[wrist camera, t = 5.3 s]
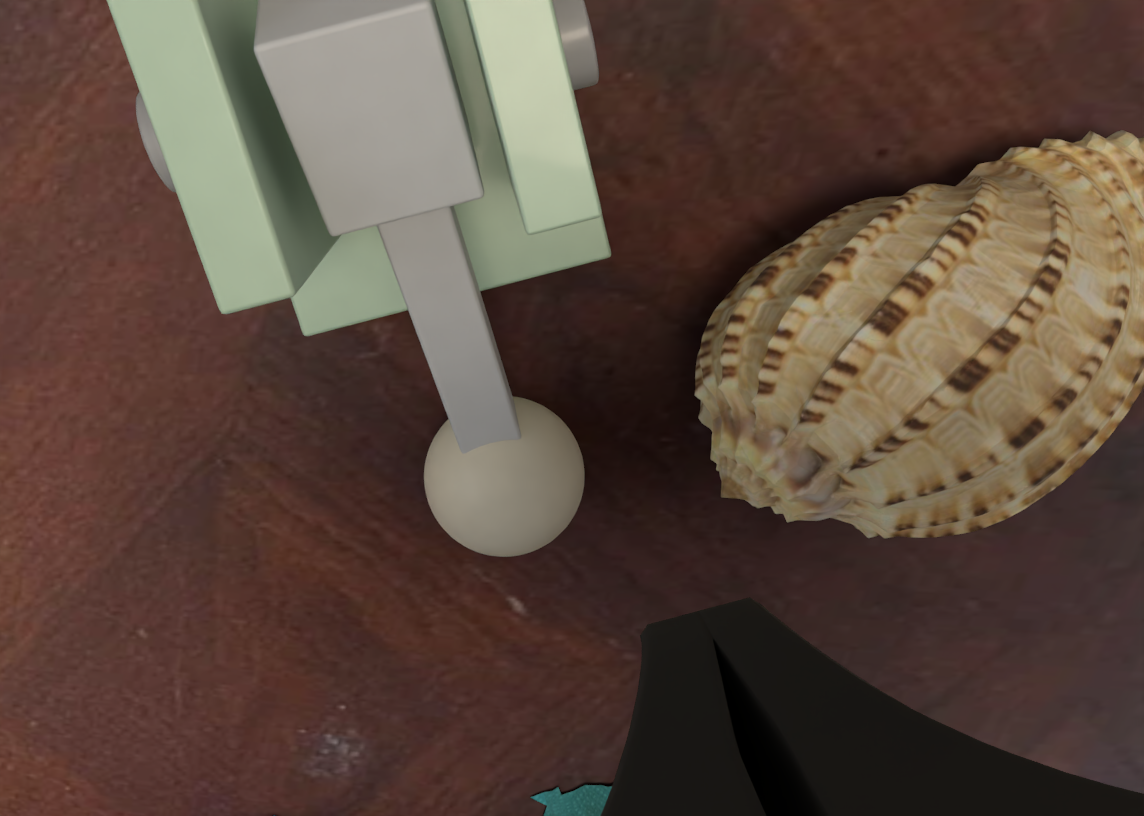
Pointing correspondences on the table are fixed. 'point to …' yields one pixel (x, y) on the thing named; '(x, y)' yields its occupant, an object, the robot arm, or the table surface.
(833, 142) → the table surface
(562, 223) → the bracket
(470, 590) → the table surface
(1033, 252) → the seashell
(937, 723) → the robot arm
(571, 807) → the figurine
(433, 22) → the lever
